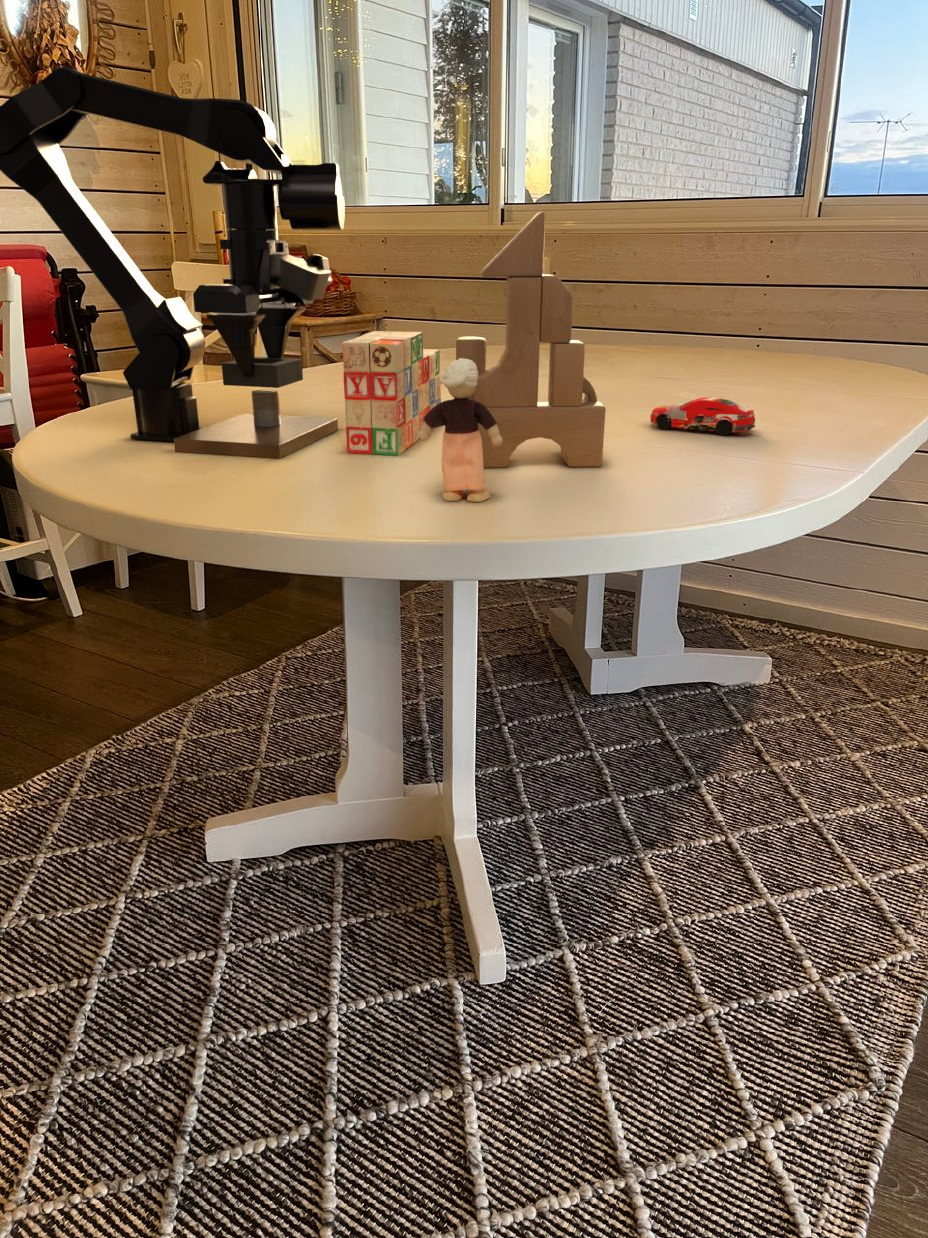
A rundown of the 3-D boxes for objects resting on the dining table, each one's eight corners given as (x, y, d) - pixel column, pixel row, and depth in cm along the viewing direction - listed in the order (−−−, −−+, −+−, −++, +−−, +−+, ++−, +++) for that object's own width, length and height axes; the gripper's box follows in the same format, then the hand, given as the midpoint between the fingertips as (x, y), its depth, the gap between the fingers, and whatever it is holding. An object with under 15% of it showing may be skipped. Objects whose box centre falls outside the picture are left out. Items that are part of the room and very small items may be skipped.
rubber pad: (223, 385, 107) (221, 363, 106) (251, 377, 113) (249, 356, 112) (278, 387, 105) (276, 365, 104) (303, 379, 112) (302, 358, 111)
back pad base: (174, 451, 104) (169, 402, 102) (245, 424, 119) (241, 381, 117) (279, 458, 101) (275, 408, 99) (338, 430, 116) (336, 385, 114)
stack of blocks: (396, 419, 123) (394, 323, 118) (441, 421, 122) (441, 324, 117) (346, 453, 104) (341, 340, 99) (399, 455, 102) (397, 341, 98)
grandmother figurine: (499, 492, 88) (502, 355, 83) (502, 502, 84) (504, 361, 79) (419, 492, 88) (417, 355, 83) (418, 503, 84) (416, 360, 79)
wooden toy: (590, 453, 104) (604, 213, 94) (602, 467, 98) (618, 211, 88) (455, 454, 103) (455, 212, 94) (458, 468, 97) (458, 210, 87)
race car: (643, 428, 118) (645, 397, 117) (657, 421, 123) (659, 391, 121) (746, 438, 112) (750, 405, 111) (757, 431, 117) (761, 399, 115)
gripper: (281, 229, 93) (291, 386, 99) (349, 231, 109) (354, 365, 115) (183, 228, 95) (198, 381, 101) (264, 230, 112) (273, 362, 118)
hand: (262, 372), depth 109 cm, fingers closed on rubber pad, 7 cm apart
